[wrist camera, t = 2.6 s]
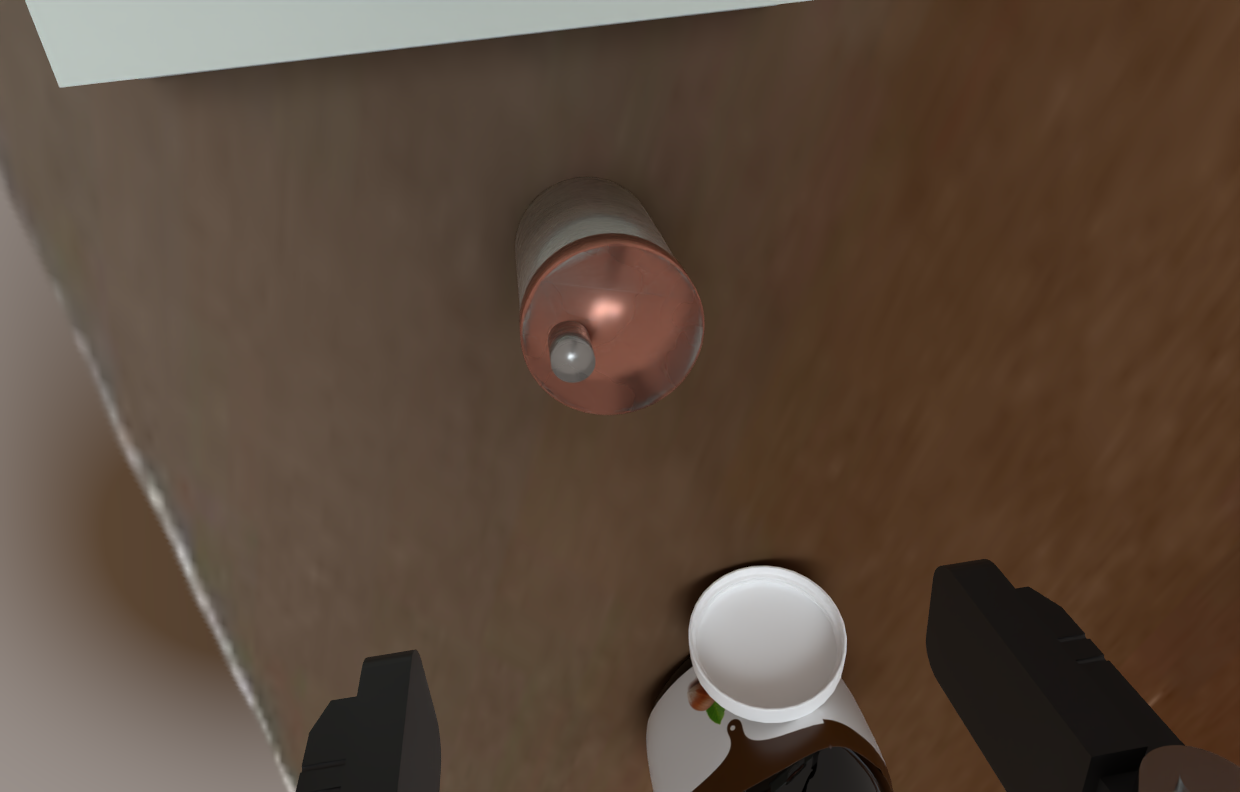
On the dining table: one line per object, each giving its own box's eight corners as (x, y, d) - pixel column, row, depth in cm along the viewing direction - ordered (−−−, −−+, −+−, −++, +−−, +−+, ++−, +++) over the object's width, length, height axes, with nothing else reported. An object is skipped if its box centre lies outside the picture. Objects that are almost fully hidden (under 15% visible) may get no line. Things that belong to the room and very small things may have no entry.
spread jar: (695, 768, 45) (755, 1005, 35) (571, 654, 40) (598, 892, 30) (886, 656, 43) (1008, 872, 33) (781, 521, 38) (887, 727, 28)
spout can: (650, 166, 30) (712, 248, 21) (661, 304, 32) (720, 425, 24) (502, 185, 29) (507, 276, 21) (525, 323, 32) (537, 453, 24)
